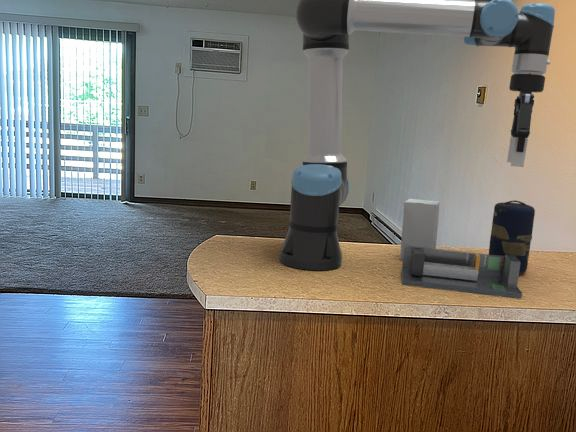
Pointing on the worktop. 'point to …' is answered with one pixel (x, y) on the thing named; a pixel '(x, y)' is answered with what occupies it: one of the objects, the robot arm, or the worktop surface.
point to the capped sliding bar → (443, 268)
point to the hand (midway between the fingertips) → (514, 164)
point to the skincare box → (420, 224)
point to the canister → (512, 231)
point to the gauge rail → (492, 268)
